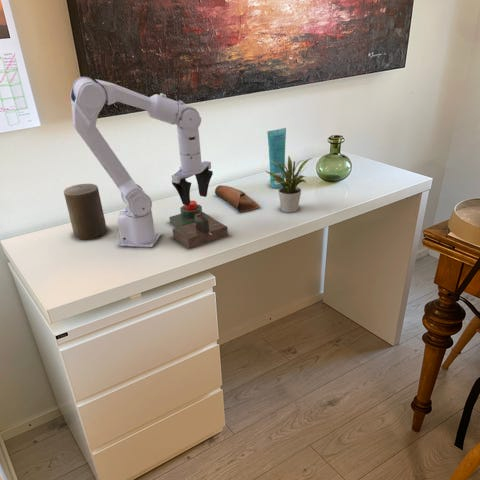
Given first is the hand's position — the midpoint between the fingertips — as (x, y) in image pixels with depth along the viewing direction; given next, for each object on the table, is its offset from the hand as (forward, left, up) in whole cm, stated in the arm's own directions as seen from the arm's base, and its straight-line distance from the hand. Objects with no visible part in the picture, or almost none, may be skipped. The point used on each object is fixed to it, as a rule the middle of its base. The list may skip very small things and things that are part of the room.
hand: (194, 200), depth 144 cm
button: (-3, +7, -5) cm, 9 cm away
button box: (-3, +4, -9) cm, 11 cm away
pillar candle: (-32, -5, -9) cm, 34 cm away
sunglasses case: (+8, +22, -9) cm, 25 cm away
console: (+2, -5, -9) cm, 11 cm away
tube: (+19, +39, -9) cm, 44 cm away
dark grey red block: (+3, -6, -6) cm, 9 cm away
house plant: (+26, +19, -9) cm, 33 cm away
